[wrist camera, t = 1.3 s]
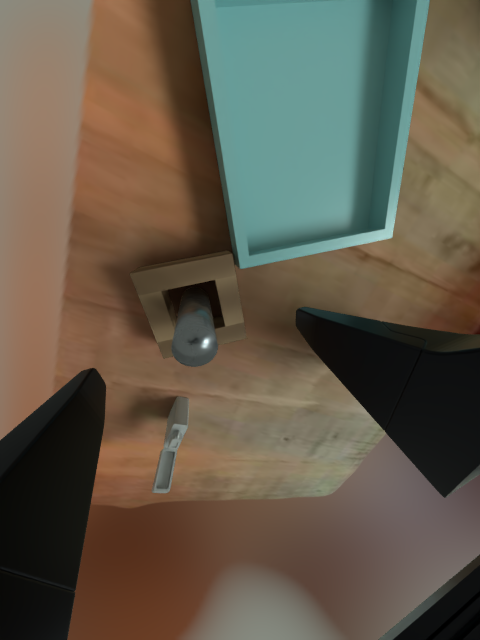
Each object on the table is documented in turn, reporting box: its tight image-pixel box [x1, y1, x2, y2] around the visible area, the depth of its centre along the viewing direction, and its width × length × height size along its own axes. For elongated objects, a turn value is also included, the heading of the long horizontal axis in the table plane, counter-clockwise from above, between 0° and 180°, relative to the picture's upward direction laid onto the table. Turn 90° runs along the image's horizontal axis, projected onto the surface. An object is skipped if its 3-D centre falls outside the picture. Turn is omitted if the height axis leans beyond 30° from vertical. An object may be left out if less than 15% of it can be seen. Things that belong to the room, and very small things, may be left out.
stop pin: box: [171, 287, 218, 367], centre depth 18 cm, size 3×3×10 cm
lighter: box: [152, 397, 189, 493], centre depth 25 cm, size 7×2×8 cm, turn 155°
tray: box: [190, 0, 430, 269], centre depth 17 cm, size 18×16×3 cm
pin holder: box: [130, 250, 247, 359], centre depth 21 cm, size 9×9×3 cm
